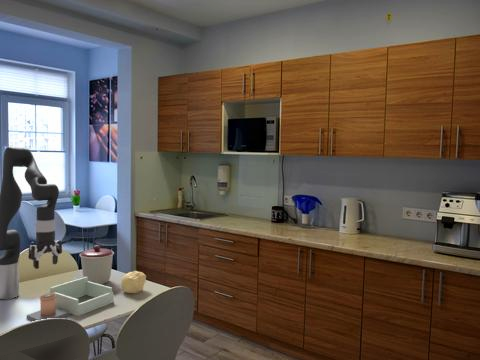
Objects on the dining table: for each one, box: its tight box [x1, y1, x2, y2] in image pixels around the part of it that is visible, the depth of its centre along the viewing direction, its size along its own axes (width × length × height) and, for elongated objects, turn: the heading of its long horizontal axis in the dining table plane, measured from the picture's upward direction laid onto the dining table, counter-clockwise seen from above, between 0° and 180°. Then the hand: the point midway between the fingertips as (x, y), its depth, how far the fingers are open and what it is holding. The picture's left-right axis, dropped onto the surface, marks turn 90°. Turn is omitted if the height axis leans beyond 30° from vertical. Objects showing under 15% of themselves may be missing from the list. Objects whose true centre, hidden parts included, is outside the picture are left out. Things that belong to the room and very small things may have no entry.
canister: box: [79, 244, 115, 285], centre depth 223 cm, size 18×18×21 cm
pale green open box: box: [49, 277, 114, 317], centre depth 192 cm, size 20×20×9 cm
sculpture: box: [121, 270, 147, 294], centre depth 210 cm, size 12×12×11 cm
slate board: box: [26, 308, 69, 322], centre depth 177 cm, size 12×12×2 cm
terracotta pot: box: [39, 292, 56, 316], centre depth 177 cm, size 6×6×8 cm
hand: (45, 266), depth 176 cm, fingers open, 8 cm apart
